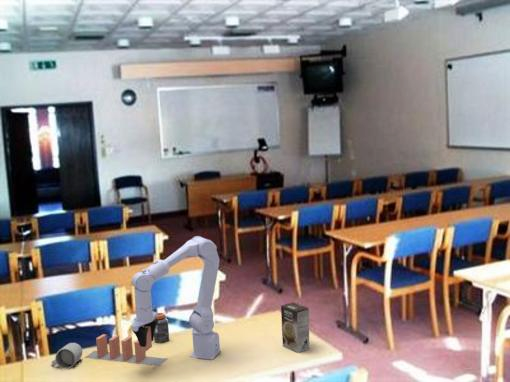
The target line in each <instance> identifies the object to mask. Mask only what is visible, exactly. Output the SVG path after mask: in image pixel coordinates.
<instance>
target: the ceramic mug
mask: <svg viewBox="0 0 510 382" xmlns="http://www.w3.org/2000/svg"><path fill="white" fill-rule="evenodd" d="M82 355H83V348H82V346H81V345H80V344H78V343H77V342H69V343H67V344H66V345H64V346H63V347H61V348H60V349H59V350H58V351H57V352H56V354H55V356H54V357H55V358H54V359H53V360H52V361H51V364H52V366H53V367H54V366H58V367H59V368H61V369H71V368H73V367H74V366H75V364H77V362H79V360H80V359H81V358H82Z"/></svg>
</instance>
